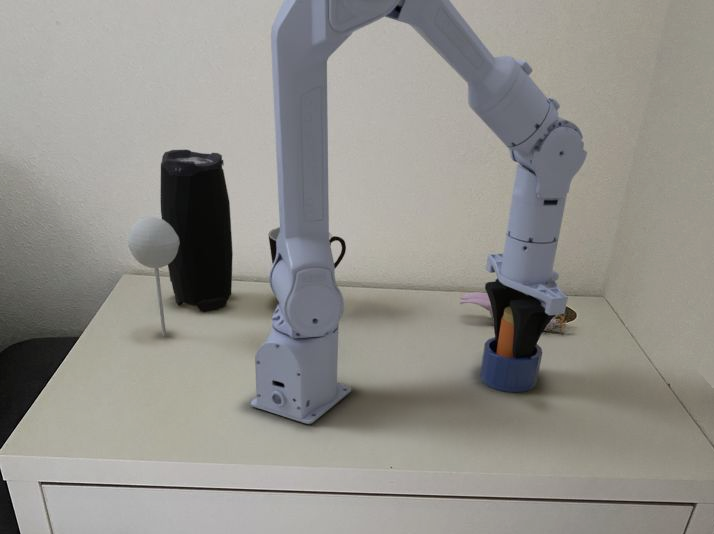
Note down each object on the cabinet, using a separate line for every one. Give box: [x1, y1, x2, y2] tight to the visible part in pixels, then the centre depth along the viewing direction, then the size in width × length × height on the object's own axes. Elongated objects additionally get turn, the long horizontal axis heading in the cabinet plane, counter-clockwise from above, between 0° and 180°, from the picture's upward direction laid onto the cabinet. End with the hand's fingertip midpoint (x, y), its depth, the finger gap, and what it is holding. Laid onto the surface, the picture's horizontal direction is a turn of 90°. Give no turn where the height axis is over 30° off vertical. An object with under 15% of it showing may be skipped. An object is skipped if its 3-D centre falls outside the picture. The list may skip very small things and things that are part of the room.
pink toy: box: [459, 291, 567, 334], centre depth 108 cm, size 6×6×15 cm
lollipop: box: [126, 216, 180, 337], centre depth 96 cm, size 6×6×15 cm
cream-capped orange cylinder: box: [496, 306, 528, 359], centre depth 92 cm, size 4×4×6 cm
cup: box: [479, 336, 543, 393], centre depth 94 cm, size 7×7×4 cm
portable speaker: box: [159, 149, 234, 313], centre depth 104 cm, size 9×9×20 cm
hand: (512, 349), depth 93 cm, fingers closed on cream-capped orange cylinder, 4 cm apart
